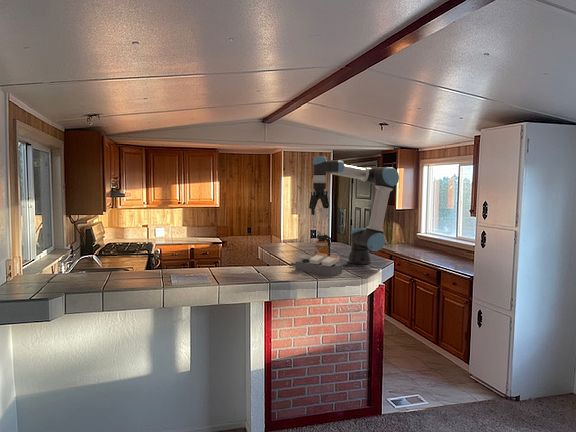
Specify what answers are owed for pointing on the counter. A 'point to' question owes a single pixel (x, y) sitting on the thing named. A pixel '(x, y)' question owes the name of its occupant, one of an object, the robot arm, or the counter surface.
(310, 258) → the rocker
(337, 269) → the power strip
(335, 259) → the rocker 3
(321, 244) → the canister
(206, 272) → the counter surface
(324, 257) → the rocker
